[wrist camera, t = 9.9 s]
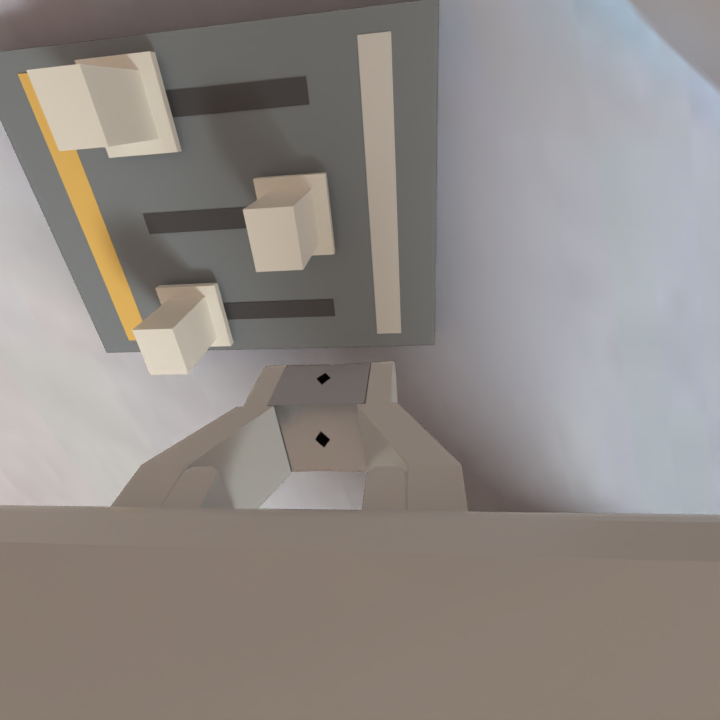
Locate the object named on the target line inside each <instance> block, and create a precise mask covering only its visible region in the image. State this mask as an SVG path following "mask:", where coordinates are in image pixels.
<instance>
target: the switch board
mask: <svg viewBox="0 0 720 720" xmlns="http://www.w3.org/2000/svg"><path fill="white" fill-rule="evenodd" d="M438 34H439V0H418V1H409V2H401V3H393V4H385V5H377V6H369V7H361V8H352V9H344V10H336V11H328V12H320V13H312V14H304V15H295V16H287V17H279V18H271V19H263V20H255V21H247V22H238V23H230V24H222V25H214V26H206V27H198V28H190V29H181V30H173V31H165V32H157V33H149V34H141V35H133V36H124V37H116V38H108V39H100V40H92V41H84V42H76V43H67V44H59V45H51V46H43V47H35V48H27V49H19V50H10V51H2V52H0V120H1V122H2V124H3V127H4V129H5V131H6V133H7V135H8V137H9V140H10V142H11V144H12V146H13V148H14V151H15V153H16V155H17V157H18V159H19V162H20V164H21V166H22V168H23V170H24V173H25V175H26V177H27V179H28V181H29V183H30V186H31V188H32V190H33V192H34V194H35V197H36V199H37V201H38V203H39V205H40V208H41V210H42V212H43V214H44V216H45V218H46V221H47V223H48V225H49V227H50V229H51V232H52V234H53V236H54V238H55V240H56V243H57V245H58V247H59V249H60V251H61V254H62V256H63V258H64V260H65V262H66V264H67V267H68V269H69V271H70V273H71V275H72V278H73V280H74V282H75V284H76V286H77V289H78V291H79V293H80V295H81V297H82V299H83V302H84V304H85V306H86V308H87V310H88V313H89V315H90V317H91V319H92V321H93V324H94V326H95V328H96V330H97V332H98V335H99V337H100V339H101V341H102V343H103V345H104V348H105V350H106V352H107V353H116V352H141V351H140V348H139V346H138V344H137V341H136V339H135V336H134V334H133V331H132V330H133V329H134V328H135V327H136V326H137V325H139V324H140V323H141V322H142V321H143V320H144V319H146V318H147V317H148V316H149V315H150V314H152V313H153V312H154V311H155V310H156V309H158V308H159V307H160V306H161V303H160V300H159V297H158V295H157V292H156V289H155V288H156V287H157V286H159V285H176V284H198V283H218V287H219V290H220V294H221V298H222V301H223V305H224V309H225V313H226V316H227V320H228V324H229V327H230V331H231V335H232V338H233V342H234V343H233V344H232V346H217V347H209V349H208V350H243V349H286V348H328V347H371V346H413V345H434V341H435V264H436V188H437V111H438ZM147 51H151V52H155V54H156V58H157V62H158V65H159V69H160V73H161V76H162V80H163V84H164V87H165V91H166V95H167V98H168V102H169V106H170V110H171V113H172V117H173V121H174V124H175V128H176V132H177V135H178V139H179V143H180V146H181V150H182V151H180V152H173V153H162V154H150V155H138V156H126V157H115V158H109V156H108V153H107V151H106V148H105V147H101V148H90V149H78V150H67V151H59V150H58V147H57V145H56V142H55V140H54V137H53V135H52V132H51V130H50V127H49V125H48V123H47V120H46V118H45V115H44V113H43V110H42V108H41V105H40V103H39V100H38V98H37V96H36V93H35V91H34V88H33V86H32V83H31V81H30V78H29V76H28V73H27V71H26V70H31V69H40V68H48V67H57V66H66V65H74V64H76V63H75V60H79V59H87V58H96V57H104V56H113V55H122V54H130V53H139V52H147ZM322 172H326V173H327V182H328V191H329V199H330V208H331V217H332V226H333V235H334V244H335V254H333V255H313V256H311V258H310V259H309V261H308V263H307V264H306V266H305V268H304V269H303V270H289V271H268V272H256V269H255V264H254V260H253V255H252V250H251V246H250V241H249V237H248V232H247V227H246V223H245V218H244V214H243V209H244V208H246V207H247V206H249V205H250V204H252V203H253V202H255V201H256V200H257V197H256V192H255V187H254V182H253V179H254V178H256V177H269V176H283V175H296V174H309V173H322Z"/></svg>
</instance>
